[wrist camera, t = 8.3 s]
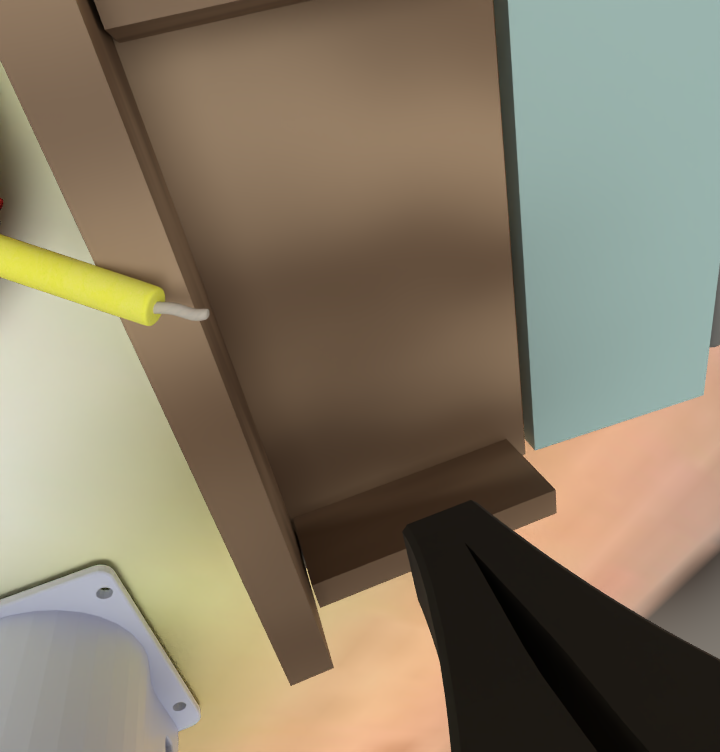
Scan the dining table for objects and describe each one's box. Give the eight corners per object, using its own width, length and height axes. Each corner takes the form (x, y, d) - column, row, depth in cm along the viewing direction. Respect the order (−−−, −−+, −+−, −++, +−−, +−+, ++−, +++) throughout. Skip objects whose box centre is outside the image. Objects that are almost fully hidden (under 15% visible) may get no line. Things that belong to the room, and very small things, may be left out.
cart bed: (506, 448, 22) (616, 567, 17) (264, 539, 21) (298, 702, 15) (453, -118, 14) (648, -263, 8) (29, -34, 12) (-94, -143, 6)
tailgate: (524, 438, 21) (703, 380, 22) (535, 450, 21) (719, 389, 21) (487, -88, 13) (768, -150, 14) (501, -97, 13) (797, -162, 14)
